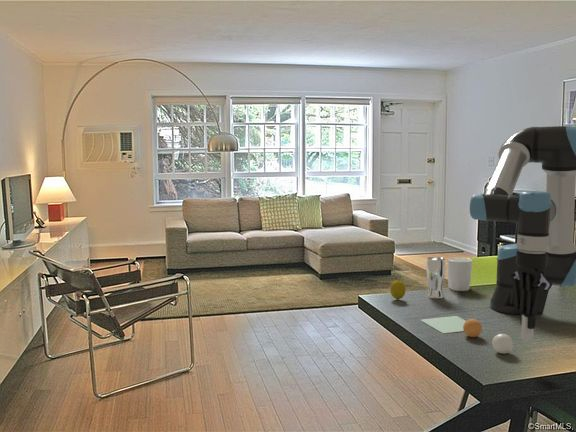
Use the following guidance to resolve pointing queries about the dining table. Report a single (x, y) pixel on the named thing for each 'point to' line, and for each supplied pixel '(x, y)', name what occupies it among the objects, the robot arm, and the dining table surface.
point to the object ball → (472, 328)
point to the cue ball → (502, 343)
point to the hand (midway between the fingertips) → (526, 339)
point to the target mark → (446, 324)
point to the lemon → (397, 289)
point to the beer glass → (435, 277)
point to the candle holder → (459, 273)
